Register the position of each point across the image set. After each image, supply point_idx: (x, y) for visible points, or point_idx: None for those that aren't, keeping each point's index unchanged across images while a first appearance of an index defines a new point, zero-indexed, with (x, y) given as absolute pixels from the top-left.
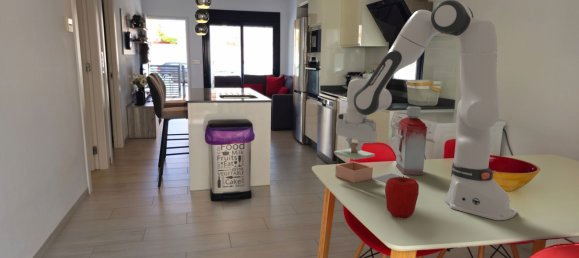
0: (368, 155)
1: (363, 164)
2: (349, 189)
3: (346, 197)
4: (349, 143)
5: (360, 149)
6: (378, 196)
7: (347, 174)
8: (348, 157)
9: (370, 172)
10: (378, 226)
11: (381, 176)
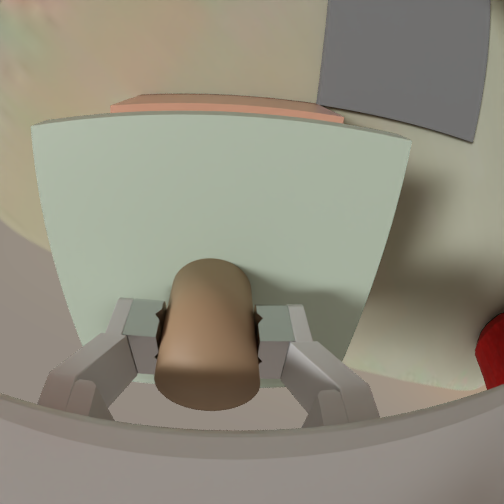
0: (382, 245)
1: (236, 108)
2: None
3: (351, 357)
4: (128, 381)
5: (302, 318)
6: (435, 279)
7: None
8: None
9: None
10: (458, 380)
11: (337, 26)
